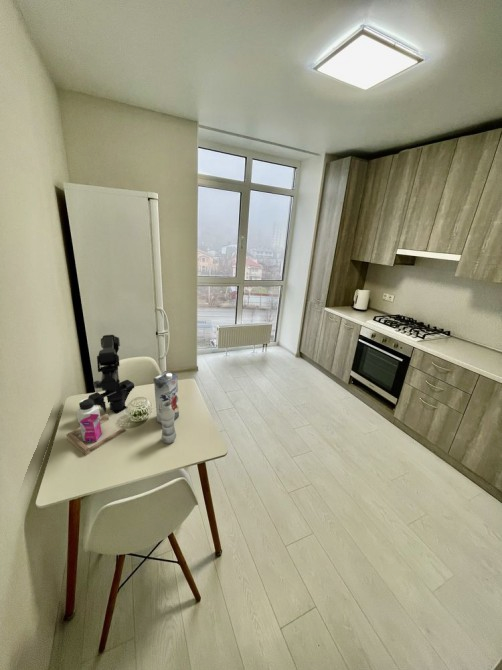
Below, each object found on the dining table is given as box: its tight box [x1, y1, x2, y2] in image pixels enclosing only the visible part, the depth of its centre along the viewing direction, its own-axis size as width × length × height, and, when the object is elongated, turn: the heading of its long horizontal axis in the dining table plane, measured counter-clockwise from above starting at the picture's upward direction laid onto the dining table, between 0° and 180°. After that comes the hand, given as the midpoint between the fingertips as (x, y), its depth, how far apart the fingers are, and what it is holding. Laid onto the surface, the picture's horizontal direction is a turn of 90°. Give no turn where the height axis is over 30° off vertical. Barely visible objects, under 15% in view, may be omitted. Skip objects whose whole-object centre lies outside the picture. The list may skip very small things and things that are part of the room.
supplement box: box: [79, 414, 103, 443], centre depth 120 cm, size 6×6×12 cm
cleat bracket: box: [66, 413, 126, 456], centre depth 123 cm, size 18×16×3 cm
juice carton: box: [153, 370, 180, 424], centre depth 132 cm, size 9×10×27 cm
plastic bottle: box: [160, 402, 177, 444], centre depth 120 cm, size 6×7×20 cm
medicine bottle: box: [76, 397, 101, 424], centre depth 130 cm, size 7×7×12 cm
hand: (114, 407), depth 123 cm, fingers open, 9 cm apart
